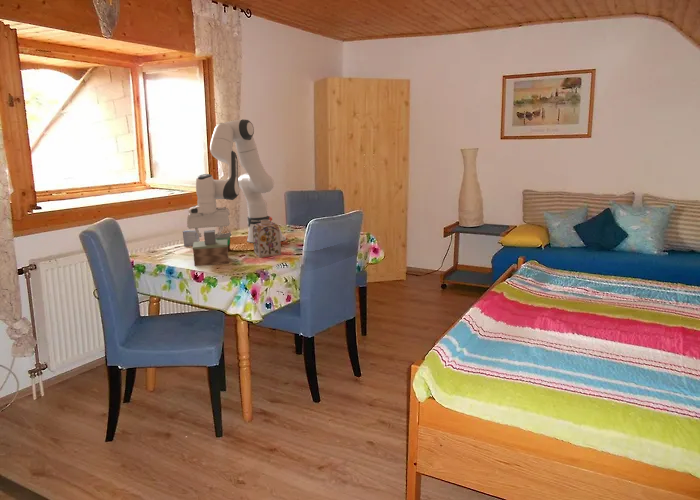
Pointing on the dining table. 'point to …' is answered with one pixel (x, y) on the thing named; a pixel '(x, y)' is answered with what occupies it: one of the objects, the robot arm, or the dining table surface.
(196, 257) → the wooden box
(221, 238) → the food container
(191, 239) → the medicine box
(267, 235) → the decorative jar
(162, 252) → the dining table surface
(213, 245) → the box lid
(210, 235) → the block
